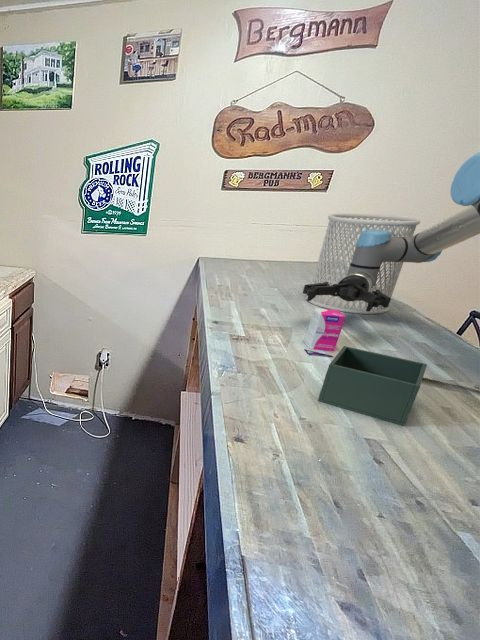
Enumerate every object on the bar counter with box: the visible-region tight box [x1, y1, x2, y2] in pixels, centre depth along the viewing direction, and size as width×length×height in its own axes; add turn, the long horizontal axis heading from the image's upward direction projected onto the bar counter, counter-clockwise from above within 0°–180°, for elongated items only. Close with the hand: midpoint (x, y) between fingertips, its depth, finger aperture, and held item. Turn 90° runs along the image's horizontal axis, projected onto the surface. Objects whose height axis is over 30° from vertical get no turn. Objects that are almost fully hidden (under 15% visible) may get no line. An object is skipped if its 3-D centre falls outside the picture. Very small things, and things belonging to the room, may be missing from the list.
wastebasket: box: [305, 212, 421, 315], centre depth 158 cm, size 25×25×30 cm
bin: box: [317, 345, 428, 427], centre depth 96 cm, size 14×14×9 cm
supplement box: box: [304, 307, 346, 358], centre depth 120 cm, size 6×6×12 cm
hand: (338, 301), depth 124 cm, fingers open, 13 cm apart
